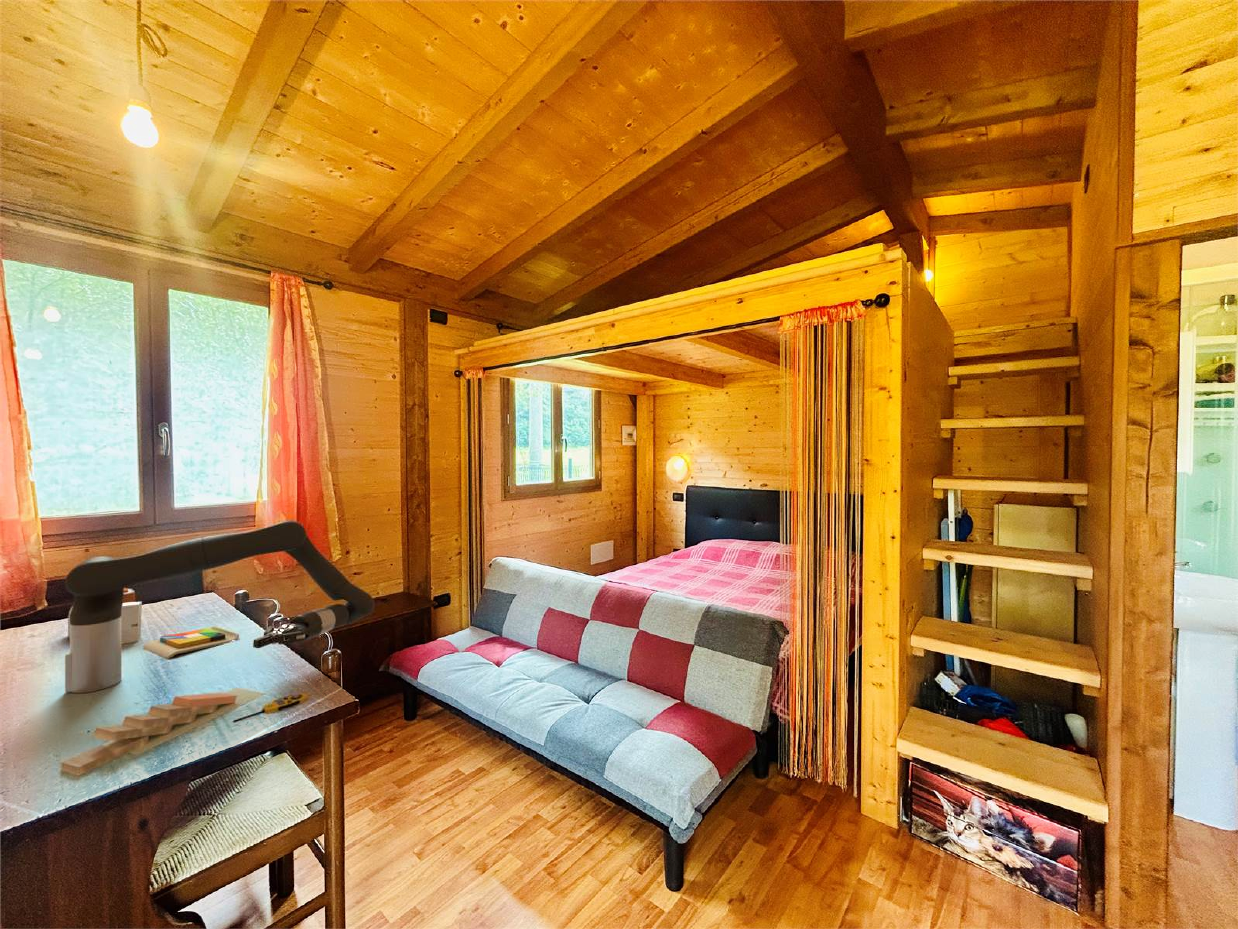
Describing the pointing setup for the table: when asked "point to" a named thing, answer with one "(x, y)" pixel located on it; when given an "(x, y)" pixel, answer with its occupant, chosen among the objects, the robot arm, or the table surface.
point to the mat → (200, 719)
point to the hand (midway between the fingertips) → (255, 644)
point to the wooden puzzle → (189, 641)
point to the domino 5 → (204, 699)
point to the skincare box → (131, 622)
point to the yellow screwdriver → (280, 704)
